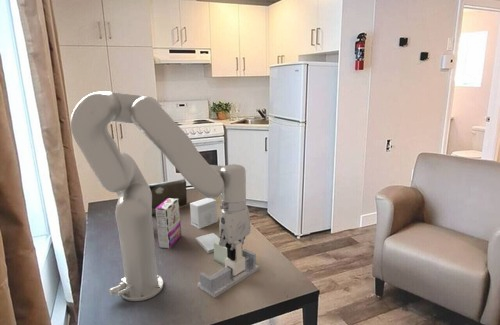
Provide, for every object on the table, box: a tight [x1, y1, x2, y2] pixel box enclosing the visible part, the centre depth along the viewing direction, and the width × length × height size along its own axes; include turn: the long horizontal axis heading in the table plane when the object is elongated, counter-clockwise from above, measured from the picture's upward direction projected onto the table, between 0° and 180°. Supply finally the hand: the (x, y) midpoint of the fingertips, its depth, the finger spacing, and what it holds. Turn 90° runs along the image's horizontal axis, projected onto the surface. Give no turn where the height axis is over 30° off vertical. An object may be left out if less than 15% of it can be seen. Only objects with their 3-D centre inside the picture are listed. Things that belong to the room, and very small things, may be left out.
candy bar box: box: [155, 198, 182, 249], centre depth 128 cm, size 11×5×16 cm, turn 168°
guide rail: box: [197, 248, 260, 299], centre depth 105 cm, size 20×8×5 cm, turn 137°
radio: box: [148, 178, 189, 217], centre depth 160 cm, size 23×9×15 cm, turn 127°
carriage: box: [224, 241, 245, 276], centre depth 106 cm, size 5×4×10 cm
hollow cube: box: [213, 240, 227, 267], centre depth 115 cm, size 7×7×7 cm
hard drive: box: [195, 232, 220, 254], centre depth 128 cm, size 2×8×12 cm
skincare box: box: [189, 197, 219, 230], centre depth 145 cm, size 10×6×10 cm, turn 135°
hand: (234, 256), depth 106 cm, fingers closed on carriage, 2 cm apart
